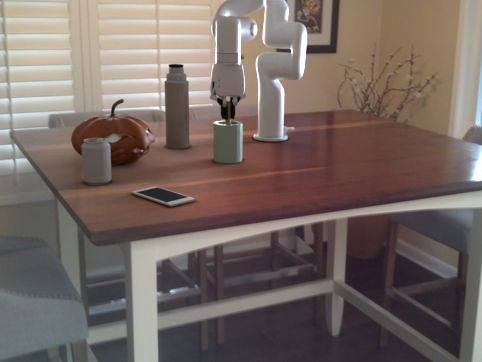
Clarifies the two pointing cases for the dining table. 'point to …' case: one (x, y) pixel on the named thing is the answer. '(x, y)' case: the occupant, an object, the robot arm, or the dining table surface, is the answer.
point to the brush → (228, 121)
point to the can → (96, 161)
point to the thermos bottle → (177, 108)
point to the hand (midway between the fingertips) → (228, 118)
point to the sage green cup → (227, 141)
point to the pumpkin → (116, 135)
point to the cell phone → (163, 196)
